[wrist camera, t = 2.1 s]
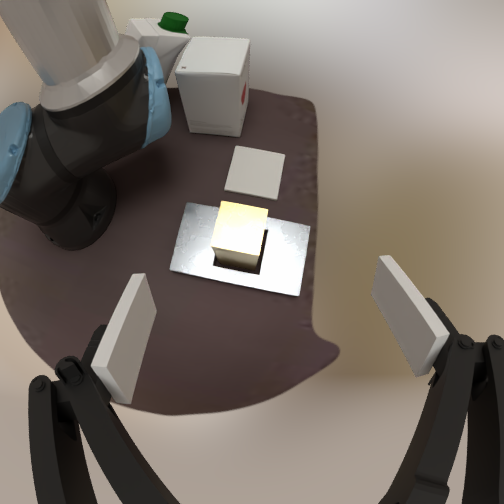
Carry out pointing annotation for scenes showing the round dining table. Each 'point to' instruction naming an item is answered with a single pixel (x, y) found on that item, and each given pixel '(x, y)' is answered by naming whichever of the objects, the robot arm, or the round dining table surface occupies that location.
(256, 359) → the round dining table surface
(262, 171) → the mat
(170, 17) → the milk carton
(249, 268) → the gold metal column
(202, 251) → the grey metal slotted plate
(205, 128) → the supplement box
